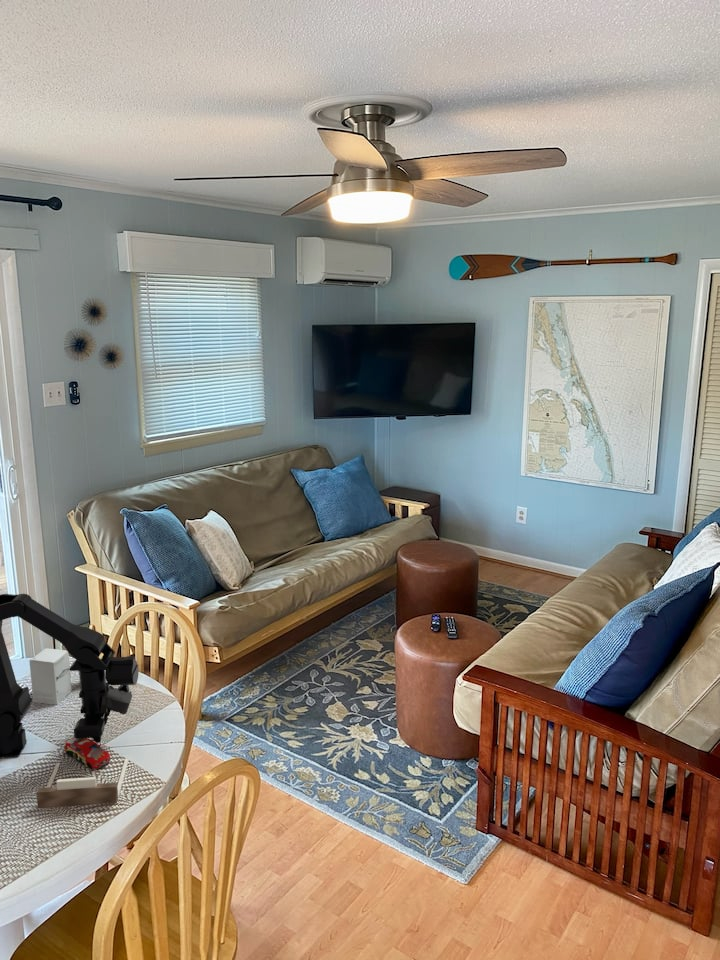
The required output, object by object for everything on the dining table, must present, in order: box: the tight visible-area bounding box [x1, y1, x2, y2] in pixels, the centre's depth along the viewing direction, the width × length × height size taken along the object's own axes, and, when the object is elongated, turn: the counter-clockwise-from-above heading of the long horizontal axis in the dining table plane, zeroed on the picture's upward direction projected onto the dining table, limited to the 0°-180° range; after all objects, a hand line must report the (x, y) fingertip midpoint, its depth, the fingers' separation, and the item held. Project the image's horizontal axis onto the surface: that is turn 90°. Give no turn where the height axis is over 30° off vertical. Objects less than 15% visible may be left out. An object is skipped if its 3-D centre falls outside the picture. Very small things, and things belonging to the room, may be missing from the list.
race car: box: [64, 737, 111, 771], centre depth 174 cm, size 13×5×4 cm, turn 54°
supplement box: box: [29, 647, 72, 706], centre depth 198 cm, size 7×7×13 cm
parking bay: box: [36, 757, 130, 809], centre depth 164 cm, size 16×16×6 cm
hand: (98, 741), depth 177 cm, fingers closed
